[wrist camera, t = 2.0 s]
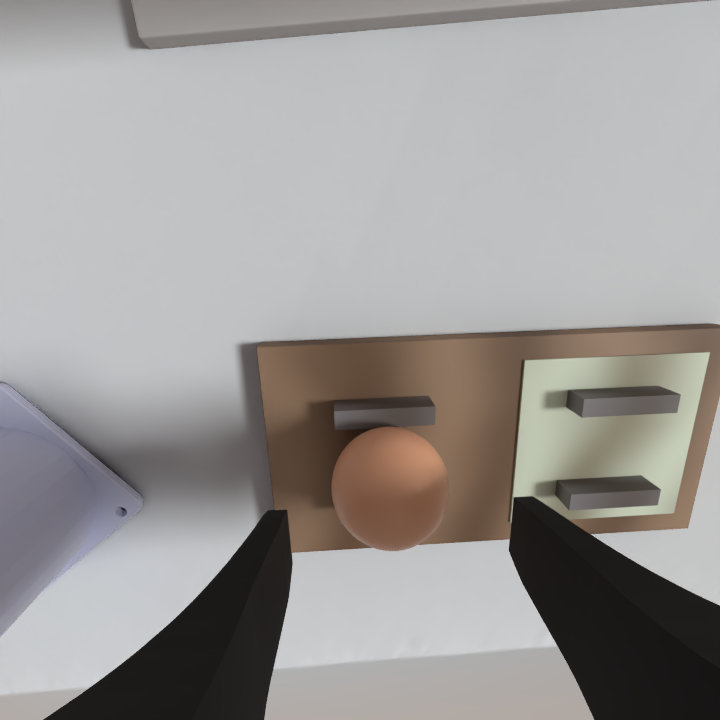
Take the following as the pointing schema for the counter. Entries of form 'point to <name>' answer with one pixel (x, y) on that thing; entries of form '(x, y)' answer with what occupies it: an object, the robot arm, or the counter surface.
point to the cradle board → (501, 423)
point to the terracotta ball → (390, 488)
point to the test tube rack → (329, 16)
